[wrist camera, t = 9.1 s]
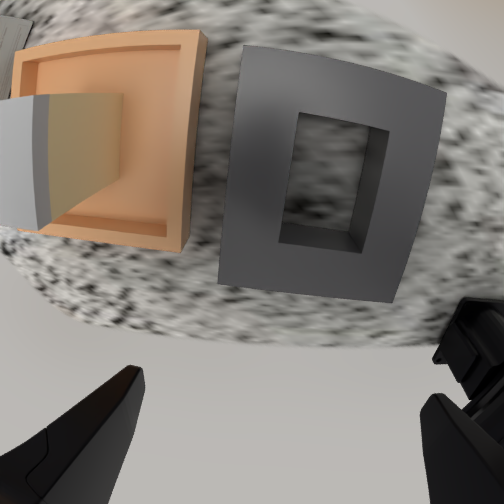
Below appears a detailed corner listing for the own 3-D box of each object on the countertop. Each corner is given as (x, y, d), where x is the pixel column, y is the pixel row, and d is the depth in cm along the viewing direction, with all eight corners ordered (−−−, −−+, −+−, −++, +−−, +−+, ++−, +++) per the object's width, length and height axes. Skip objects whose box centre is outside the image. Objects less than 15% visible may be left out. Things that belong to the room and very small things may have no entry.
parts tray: (207, 38, 14) (199, 29, 12) (189, 236, 19) (180, 252, 17) (36, 53, 14) (15, 51, 12) (36, 218, 19) (17, 230, 17)
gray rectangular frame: (421, 92, 15) (446, 93, 12) (377, 277, 20) (392, 303, 17) (247, 55, 15) (243, 44, 12) (223, 258, 20) (217, 284, 17)
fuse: (123, 93, 15) (33, 94, 8) (119, 179, 17) (38, 231, 10) (79, 94, 15) (-19, 103, 8) (76, 176, 17) (-11, 223, 10)
